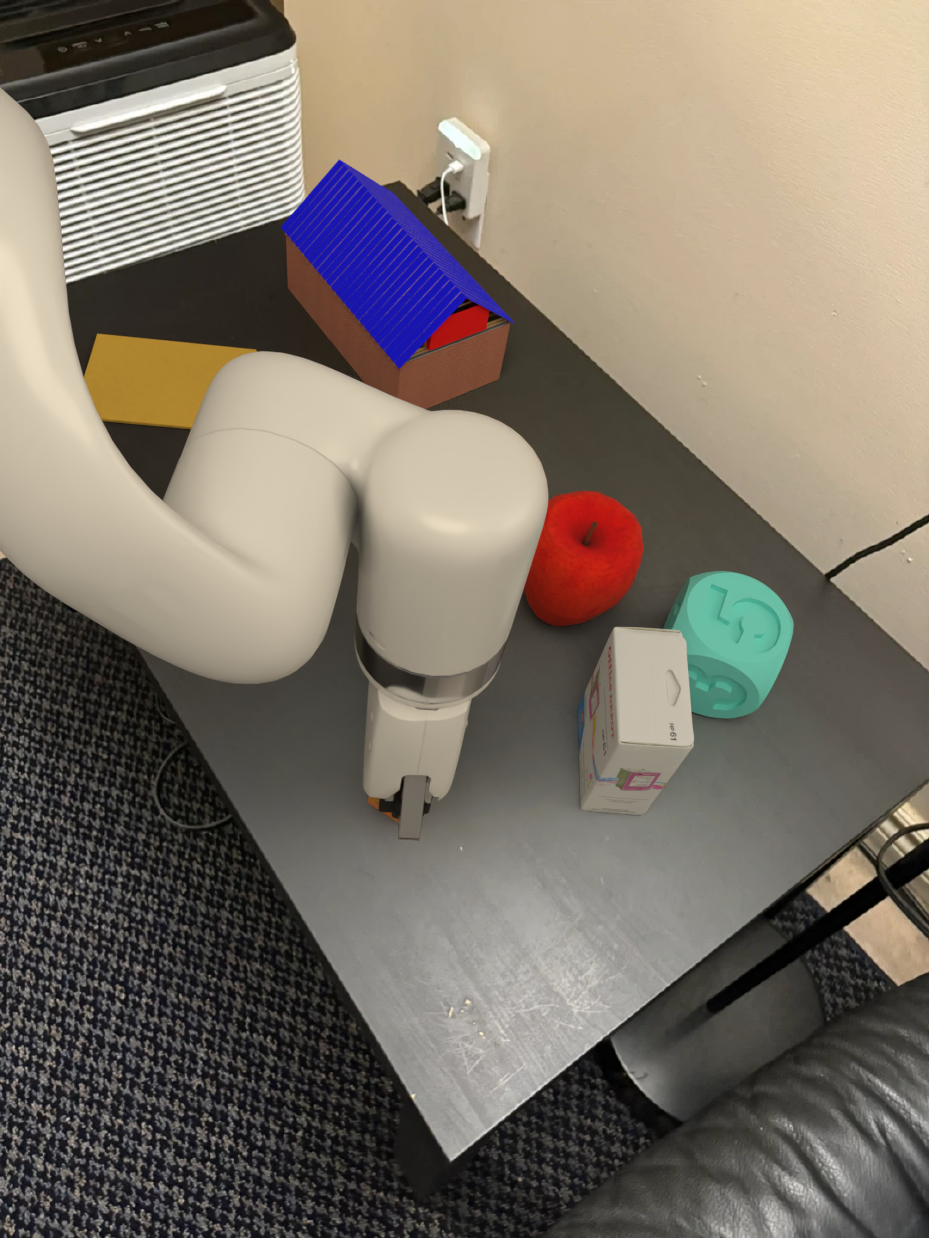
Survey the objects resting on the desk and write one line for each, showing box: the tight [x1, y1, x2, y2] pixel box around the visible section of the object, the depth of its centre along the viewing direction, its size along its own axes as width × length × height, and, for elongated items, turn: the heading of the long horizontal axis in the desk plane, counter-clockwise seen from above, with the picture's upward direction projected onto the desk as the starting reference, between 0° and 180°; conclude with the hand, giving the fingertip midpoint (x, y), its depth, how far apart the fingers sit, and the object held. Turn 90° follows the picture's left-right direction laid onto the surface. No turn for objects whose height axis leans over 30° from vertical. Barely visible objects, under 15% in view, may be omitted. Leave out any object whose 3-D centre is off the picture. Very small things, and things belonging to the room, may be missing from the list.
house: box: [280, 159, 515, 410], centre depth 86 cm, size 12×20×12 cm, turn 34°
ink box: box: [577, 626, 695, 816], centre depth 66 cm, size 9×5×12 cm, turn 178°
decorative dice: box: [662, 570, 795, 719], centre depth 72 cm, size 8×8×8 cm
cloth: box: [83, 333, 258, 430], centre depth 84 cm, size 14×10×1 cm
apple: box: [523, 490, 644, 627], centre depth 73 cm, size 9×9×11 cm
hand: (405, 772), depth 63 cm, fingers closed on supplement box, 4 cm apart
